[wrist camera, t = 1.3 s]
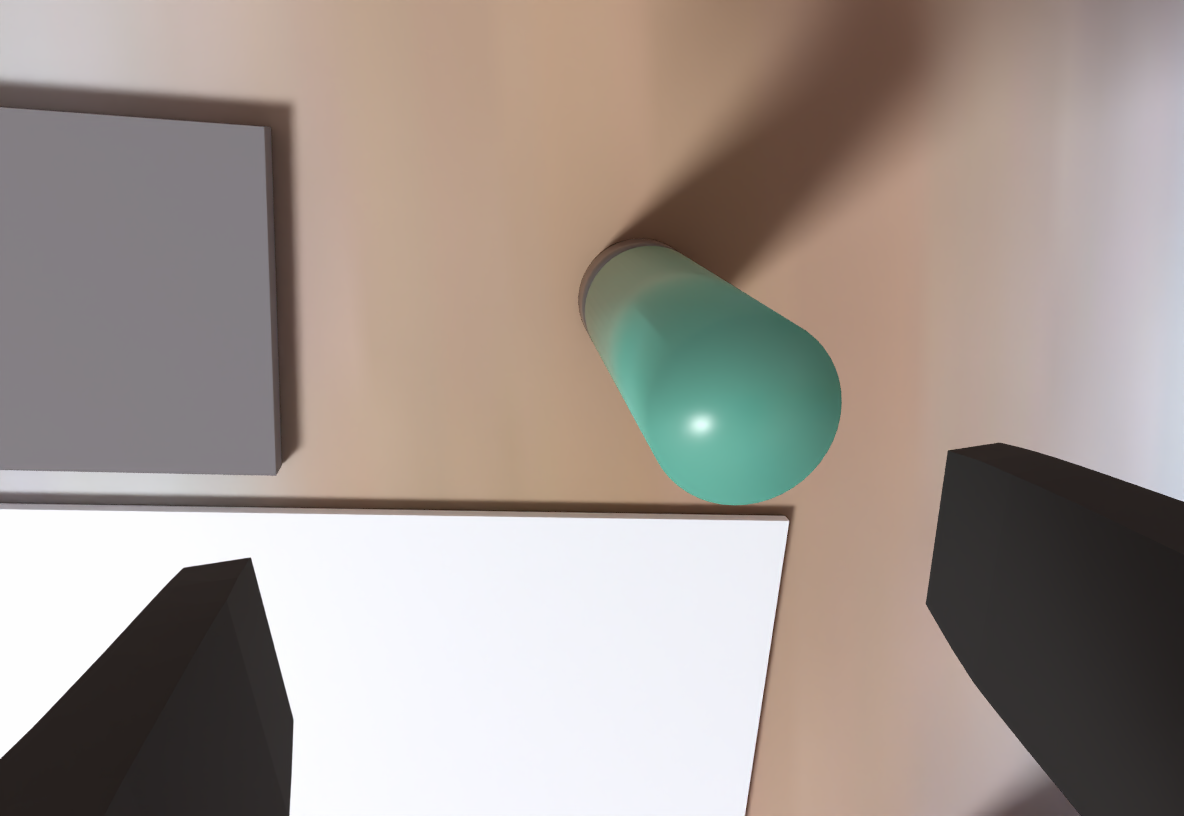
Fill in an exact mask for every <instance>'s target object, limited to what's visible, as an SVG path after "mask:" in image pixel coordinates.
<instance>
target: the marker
mask: <svg viewBox="0 0 1184 816" xmlns="http://www.w3.org/2000/svg"><path fill="white" fill-rule="evenodd" d="M578 305H579V312H580V316H581V320H582V322H583V325H584V327H585V329H586V331H587V332H588V334H589V336H590V338H591V340H592V342H593V343H594V345H595V347H596V349H597V351H598V353H599V354H600V356H601V358H602V360H603V362H604V364H605V366H606V367H607V369H608V371H609V373H610V375H611V377H612V378H613V380H614V382H615V384H616V386H617V388H618V389H619V391H620V393H621V395H622V397H623V399H624V400H625V402H626V404H627V406H628V408H629V410H630V411H631V413H632V415H633V417H634V419H635V421H636V423H637V424H638V426H639V428H640V430H641V432H642V434H643V435H644V437H645V439H646V441H647V443H648V445H649V446H650V448H651V450H652V452H653V454H654V456H655V457H656V459H657V461H658V463H659V464H660V466H661V468H662V469H663V470H664V472H665V473H666V474H667V475H668V477H669V478H670V479H671V480H672V481H674V482H675V483H676V484H677V485H678V486H679V487H681V488H682V489H683V490H685V491H686V492H688V493H690V494H692V495H694V496H696V497H698V498H700V499H703V500H706V501H709V502H713V503H718V504H724V505H747V504H753V503H758V502H762V501H765V500H769V499H771V498H774V497H776V496H778V495H781V494H783V493H784V492H786V491H788V490H790V489H791V488H793V487H794V486H796V485H797V484H799V483H800V482H801V481H803V480H804V479H805V478H806V477H807V476H808V475H809V474H810V473H811V472H812V471H813V470H814V469H815V468H816V467H817V465H818V464H819V463H820V462H821V460H822V459H823V457H824V456H825V454H826V453H827V451H828V450H829V448H830V446H831V444H832V442H833V440H834V437H835V434H836V431H837V429H838V424H839V420H840V415H841V404H842V402H841V388H840V382H839V378H838V375H837V372H836V369H835V366H834V364H833V362H832V360H831V358H830V356H829V355H828V353H827V352H826V350H825V349H824V348H823V346H822V345H821V344H820V343H819V342H818V341H817V340H816V339H815V338H814V337H813V336H812V335H810V334H809V333H808V332H807V331H806V330H804V329H802V328H801V327H799V326H797V325H796V324H794V323H793V322H791V321H789V320H788V319H786V318H784V317H783V316H781V315H780V314H778V313H776V312H775V311H773V310H772V309H770V308H768V307H767V306H765V305H763V304H762V303H760V302H759V301H757V300H755V299H754V298H752V297H750V296H749V295H747V294H746V293H744V292H742V291H741V290H739V289H738V288H736V287H734V286H733V285H731V284H729V283H728V282H726V281H725V280H723V279H721V278H720V277H718V276H717V275H715V274H713V273H712V272H710V271H708V270H707V269H705V268H704V267H702V266H700V265H699V264H697V263H695V262H694V261H692V260H691V259H689V258H687V257H686V256H684V255H683V254H681V253H679V252H678V251H676V250H674V249H673V248H671V247H669V246H668V245H666V244H664V243H661V242H659V241H655V240H651V239H629V240H625V241H622V242H619V243H616V244H614V245H612V246H610V247H609V248H607V249H605V250H604V251H603V252H601V253H600V254H599V255H598V256H597V257H596V258H595V259H594V260H593V261H592V263H591V264H590V265H589V267H588V269H587V270H586V272H585V274H584V276H583V279H582V281H581V285H580V289H579V296H578Z"/></svg>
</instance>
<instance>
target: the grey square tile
mask: <svg viewBox="0 0 1184 816" xmlns="http://www.w3.org/2000/svg"><path fill="white" fill-rule="evenodd" d="M281 466H282V455H281V423H280V392H279V360H278V329H277V298H276V266H275V235H274V203H273V172H272V140H271V127H266V126H252V125H239V124H225V123H212V122H198V121H185V120H171V119H158V118H144V117H131V116H117V115H104V114H90V113H77V112H63V111H49V110H36V109H22V108H9V107H0V470H30V471H78V472H127V473H175V474H223V475H271V476H276V475H277V473H278V471H279V469H280V468H281Z"/></svg>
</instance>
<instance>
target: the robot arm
mask: <svg viewBox="0 0 1184 816" xmlns="http://www.w3.org/2000/svg"><path fill="white" fill-rule="evenodd" d="M926 605H927V607H928V609H929V610H930V612H931V614H932V616H933V617H934V619H935V621H936V622H937V624H938V626H939V628H940V629H941V631H942V633H943V634H944V636H945V638H946V640H947V641H948V643H949V645H950V646H951V648H952V650H953V651H954V653H955V654H956V656H957V657H958V659H959V661H960V662H961V664H962V665H963V667H964V668H965V670H966V672H967V673H968V675H969V676H970V678H971V679H972V681H973V683H974V684H975V685H976V686H977V688H978V689H979V690H980V692H981V693H982V694H983V695H984V697H985V698H986V699H987V701H988V702H989V703H990V704H991V706H992V707H993V708H994V709H995V711H996V712H997V713H998V714H999V716H1000V717H1001V718H1002V719H1003V721H1004V722H1005V723H1006V724H1007V726H1008V727H1009V728H1010V729H1011V731H1012V732H1013V733H1014V734H1015V736H1016V737H1017V738H1018V739H1019V741H1020V742H1021V743H1022V744H1023V746H1024V747H1025V748H1026V749H1027V750H1028V752H1029V753H1030V754H1031V755H1032V757H1033V758H1034V759H1035V760H1036V761H1037V763H1038V764H1039V765H1040V766H1041V768H1042V769H1043V770H1044V771H1045V772H1046V774H1047V775H1048V776H1049V777H1050V778H1051V780H1052V781H1053V782H1054V783H1055V785H1056V786H1057V787H1058V788H1059V789H1060V791H1061V792H1062V793H1063V794H1064V796H1065V797H1066V798H1067V799H1068V800H1069V802H1070V803H1071V804H1072V805H1073V807H1074V808H1075V809H1076V810H1077V811H1078V813H1079V814H1080V815H1081V816H1184V502H1183V501H1180V500H1177V499H1174V498H1171V497H1168V496H1165V495H1163V494H1160V493H1157V492H1154V491H1151V490H1148V489H1145V488H1143V487H1140V486H1137V485H1134V484H1131V483H1128V482H1125V481H1123V480H1120V479H1117V478H1114V477H1111V476H1108V475H1105V474H1103V473H1100V472H1097V471H1094V470H1091V469H1088V468H1085V467H1082V466H1079V465H1076V464H1073V463H1070V462H1067V461H1064V460H1061V459H1058V458H1054V457H1051V456H1048V455H1045V454H1041V453H1038V452H1035V451H1031V450H1027V449H1024V448H1020V447H1016V446H1012V445H1007V444H1003V443H994V444H988V445H981V446H975V447H968V448H962V449H955V450H948V454H947V461H946V468H945V475H944V482H943V489H942V495H941V502H940V509H939V516H938V523H937V530H936V537H935V544H934V551H933V558H932V565H931V572H930V579H929V586H928V593H927V600H926ZM293 725H294V719H293V715H292V711H291V708H290V704H289V700H288V696H287V692H286V689H285V685H284V681H283V677H282V673H281V670H280V666H279V662H278V658H277V654H276V651H275V647H274V643H273V639H272V635H271V632H270V628H269V624H268V620H267V616H266V613H265V609H264V605H263V601H262V597H261V593H260V590H259V586H258V582H257V578H256V574H255V571H254V567H253V563H252V559H251V557H250V558H243V559H236V560H230V561H223V562H217V563H210V564H204V565H197V566H191V567H184V568H183V569H182V570H180V571H179V572H178V573H177V574H176V575H175V576H174V577H173V578H172V579H171V580H170V581H169V582H168V583H167V585H166V586H165V587H164V588H163V589H162V590H161V591H160V592H159V593H158V594H157V595H156V596H155V597H154V598H153V599H152V601H151V602H150V603H149V604H148V605H147V606H146V607H145V608H144V609H143V610H142V611H141V612H140V614H139V615H138V616H137V617H136V618H135V619H134V620H133V621H132V622H131V623H130V624H129V626H128V627H127V628H126V629H125V630H124V631H123V632H122V633H121V634H120V635H119V636H118V638H117V639H116V640H115V641H114V642H113V643H112V644H111V645H110V646H109V647H108V648H107V649H106V651H105V652H104V653H103V654H102V655H101V656H100V657H99V658H98V659H97V660H96V661H95V662H94V663H93V664H92V665H91V666H90V667H89V669H88V670H87V671H86V672H85V673H84V674H83V675H82V676H81V677H80V678H79V679H78V680H77V681H76V682H75V683H74V684H73V685H72V686H71V687H70V689H69V690H68V691H67V692H66V693H65V694H64V695H63V696H62V697H61V698H60V699H59V700H58V701H57V702H56V703H55V704H54V705H53V706H52V708H51V709H50V710H49V711H48V712H47V713H46V714H45V715H44V716H43V717H42V718H41V719H40V720H39V721H38V722H37V723H36V724H35V725H34V726H33V727H32V728H31V729H30V730H29V731H28V732H27V733H26V734H25V735H24V736H23V737H22V738H21V739H20V740H19V741H18V742H17V743H16V744H15V745H14V746H13V747H12V748H11V749H10V750H9V751H8V752H7V753H6V754H5V755H4V756H2V757H1V758H0V816H289V815H290V797H291V778H292V753H293Z"/></svg>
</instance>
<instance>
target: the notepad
mask: <svg viewBox="0 0 1184 816" xmlns="http://www.w3.org/2000/svg"><path fill="white" fill-rule="evenodd" d="M788 526H789V520H788V519H787V518H786V516H769V515H706V514H643V513H579V512H516V511H453V510H390V509H327V508H264V507H201V506H138V505H75V504H12V503H0V758H1V757H2V756H4V755H5V754H6V753H7V752H8V751H9V750H10V749H11V748H12V747H13V746H14V745H15V744H16V743H17V742H18V741H19V740H20V739H21V738H22V737H23V736H24V735H25V734H26V733H27V732H28V731H29V730H30V729H31V728H32V727H33V726H34V725H35V724H36V723H37V722H38V721H39V720H40V719H41V718H42V717H43V716H44V715H45V714H46V713H47V712H48V711H49V710H50V709H51V708H52V706H53V705H54V704H55V703H56V702H57V701H58V700H59V699H60V698H61V697H62V696H63V695H64V694H65V693H66V692H67V691H68V690H69V689H70V687H71V686H72V685H73V684H74V683H75V682H76V681H77V680H78V679H79V678H80V677H81V676H82V675H83V674H84V673H85V672H86V671H87V670H88V669H89V667H90V666H91V665H92V664H93V663H94V662H95V661H96V660H97V659H98V658H99V657H100V656H101V655H102V654H103V653H104V652H105V651H106V649H107V648H108V647H109V646H110V645H111V644H112V643H113V642H114V641H115V640H116V639H117V638H118V636H119V635H120V634H121V633H122V632H123V631H124V630H125V629H126V628H127V627H128V626H129V624H130V623H131V622H132V621H133V620H134V619H135V618H136V617H137V616H138V615H139V614H140V612H141V611H142V610H143V609H144V608H145V607H146V606H147V605H148V604H149V603H150V602H151V601H152V599H153V598H154V597H155V596H156V595H157V594H158V593H159V592H160V591H161V590H162V589H163V588H164V587H165V586H166V585H167V583H168V582H169V581H170V580H171V579H172V578H173V577H174V576H175V575H176V574H177V573H178V572H179V571H180V570H182V569H183V568H184V567H191V566H197V565H204V564H210V563H217V562H223V561H230V560H236V559H243V558H250V557H251V559H252V563H253V567H254V571H255V574H256V578H257V582H258V586H259V590H260V593H261V597H262V601H263V605H264V609H265V613H266V616H267V620H268V624H269V628H270V632H271V635H272V639H273V643H274V647H275V651H276V654H277V658H278V662H279V666H280V670H281V673H282V677H283V681H284V685H285V689H286V692H287V696H288V700H289V704H290V708H291V711H292V715H293V719H294V725H293V753H292V778H291V797H290V815H289V816H745V811H746V805H747V798H748V791H749V785H750V778H751V771H752V765H753V758H754V751H755V745H756V738H757V732H758V725H759V718H760V712H761V705H762V698H763V692H764V685H765V678H766V672H767V665H768V659H769V652H770V645H771V639H772V632H773V625H774V619H775V612H776V605H777V599H778V592H779V586H780V579H781V572H782V566H783V559H784V552H785V546H786V539H787V532H788Z"/></svg>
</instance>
